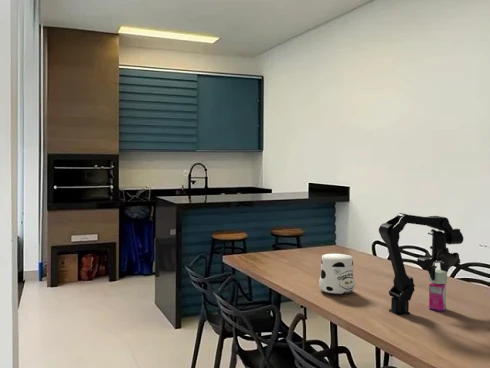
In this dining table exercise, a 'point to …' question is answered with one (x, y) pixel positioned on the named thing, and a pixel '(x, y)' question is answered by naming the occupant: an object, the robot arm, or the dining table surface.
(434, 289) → the supplement box
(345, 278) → the milk container
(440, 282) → the sage cube
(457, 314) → the dining table surface
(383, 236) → the robot arm
